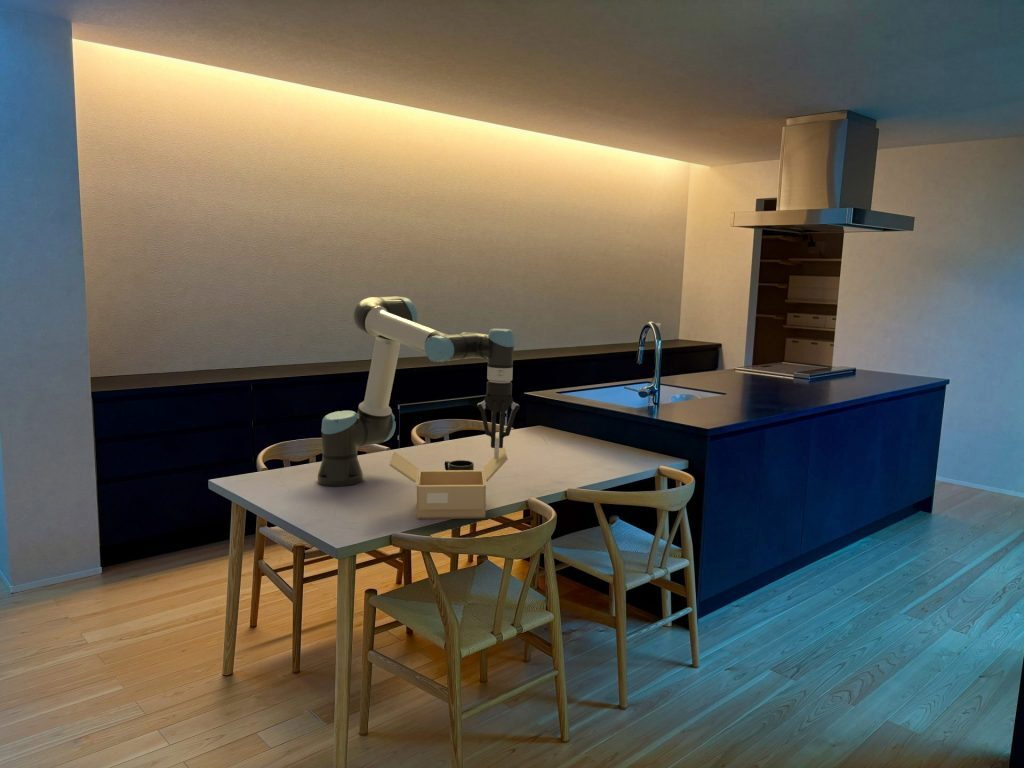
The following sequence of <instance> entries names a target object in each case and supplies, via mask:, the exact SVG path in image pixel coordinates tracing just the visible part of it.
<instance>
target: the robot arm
mask: <svg viewBox="0 0 1024 768" xmlns="http://www.w3.org/2000/svg"><path fill="white" fill-rule="evenodd" d="M353 321H354V323H355V325H356V327H357V328H358V329H359V330H360V331H362V332H363V333H365V334H367V335H371V336H374V338H375V340H374V341H375V342H374V345H373V351H372V356H371V357H372V358H371V363H370V366H369V373H368V379H367V383H366V387H365V388H366V389H365V395H364V400H363V401H362V402H360V403H359V404H358V407H357V408H358V409H357V412H356V411H353V410H341V411H340V410H337V411H334V412H333V411H332V412H330V413H328V414H326V415H325V416H323V418H322V421H321V429H320V431H321V444H322V445H321V447H322V453H321V454H322V458H321V459H322V460H321V462H320V466H319V468H318V472H317V483H318V484H320V485H323V486H328V487H345V486H351V485H357V484H359V483H362V482H363V481H364V475H363V474H364V473H363V469H362V466H361V464H360V462H359V461H360V460H359V458H358V448H361V447H365V446H371V445H379V444H381V443H384V442H386V441H389V440H390V439H391V438H392V437H393V436H394V433H395V432H396V431H395V430H396V424H397V423H396V421H395V419H396V417H395V415H394V413H393V411H392V410H393V409H392V408H391V406H389V405H390V400H391V393H392V390H393V384H394V380H395V374H396V369H397V365H398V359H399V355H400V350H401V344H402V345H404V346H406V347H408V348H411V349H414V350H416V351H419V352H421V353H424V354H425V356H426V357H427V358H428V359H429V360H430V361H431V362H434V363H436V362H437V363H438V362H439V363H444V362H450V361H459V360H468V359H483V360H487V371H486V374H487V376H486V378H487V380H488V381H487V382H486V393H485V394H486V395H485V396H484V400H483V401H481V402H478V403H477V408H478V410H479V412H480V414H481V415H480V416H481V421H482V423H483V428H484V432H485V433H484V434H485V436H488V437H490V448H491V449H493V456H494V459H496V460H499V450H500V449H501V448H502V447H504V438H505V437H509V436H510V434H511V431H512V427H513V424H514V422H515V417H516V415H517V412H518V411H519V409H521V407H520V405H519V403H516V402H514V399H513V396H512V394H513V393H512V392H513V391H512V390H513V382H512V381H513V371H514V369H513V367H514V365H513V364H514V363H513V362H514V350H515V333H514V331H513V330H512V329H509V328H490V329H489V330H488V334H486V333H480V332H475V331H462V332H461V333H456V334H455V333H454V334H447V333H444V332H441V331H438V330H436V329H434V328H431V327H428V326H425V325H424V324H420V323H418V312H417V309H416V307H415V304H414V303H413V302H412V300H411V299H409V298H408V297H404V296H398V295H397V296H396V295H395V296H370V297H367V298H364V299H362V300H361V301H359V302H357V304H356V306H355V308H354V310H353ZM486 406H487V407H488V409H489V410H490V411H491V425H490V427H491V430H490V428H489V424H488V419H487V415H486V411H485V410H486ZM509 408H511V411H510V414H509V417H508V422H507V424H506V428H505V418H506V417H505V415H506V414H505V413H506V412H507V410H509ZM497 413H499V431H498V436H497V435H496V430H497Z"/></svg>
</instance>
